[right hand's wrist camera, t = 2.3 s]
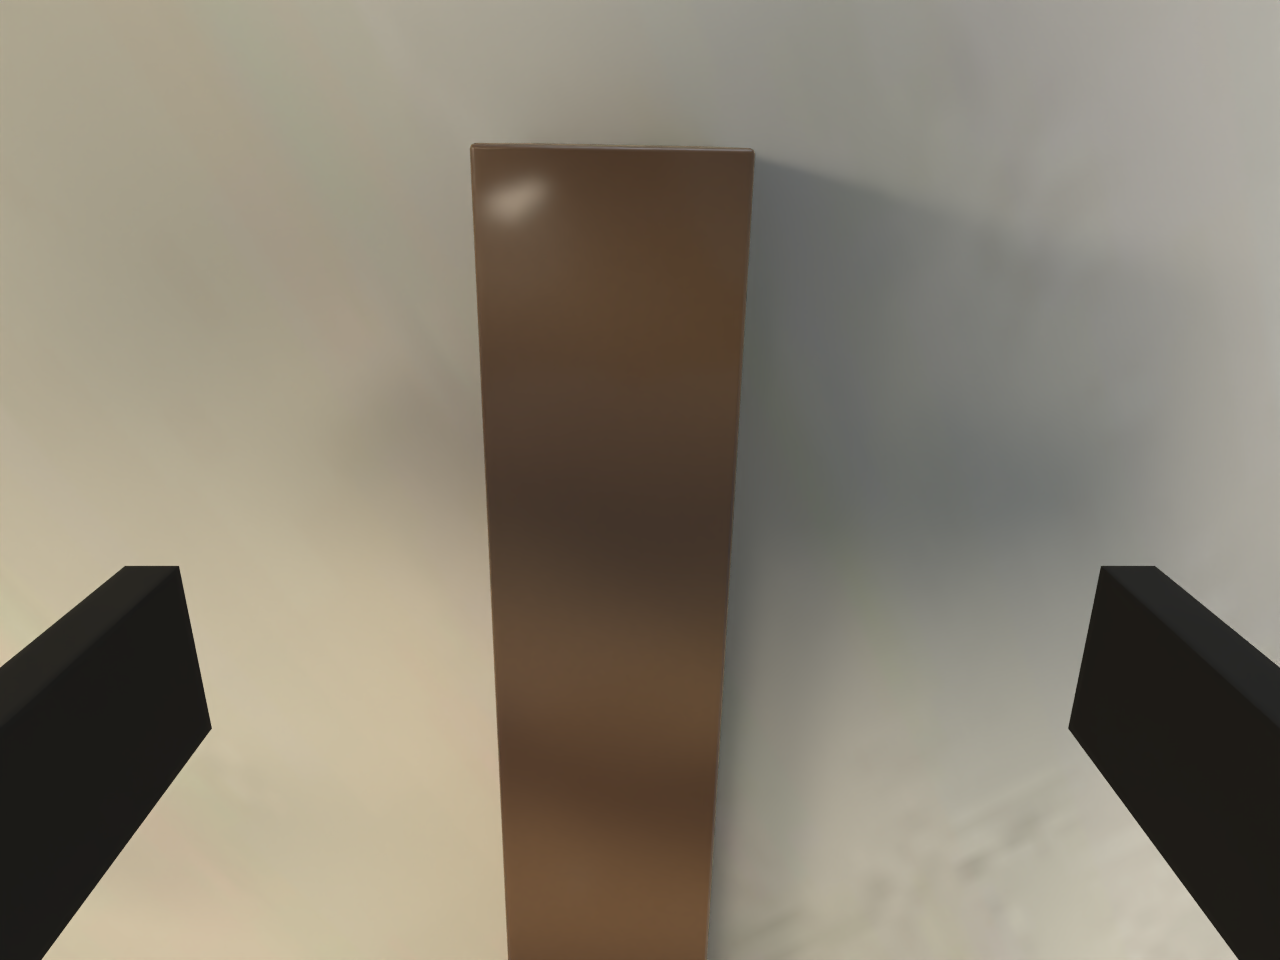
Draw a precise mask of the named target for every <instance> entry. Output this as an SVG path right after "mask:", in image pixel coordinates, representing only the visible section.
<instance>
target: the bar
mask: <svg viewBox="0 0 1280 960" xmlns="http://www.w3.org/2000/svg"><path fill="white" fill-rule="evenodd" d="M470 162H471V183H472V204H473V225H474V246H475V268H476V289H477V310H478V331H479V352H480V374H481V395H482V416H483V437H484V459H485V480H486V501H487V522H488V543H489V565H490V586H491V607H492V628H493V649H494V671H495V692H496V713H497V734H498V755H499V777H500V798H501V819H502V840H503V861H504V883H505V904H506V925H507V946H508V960H707V949H708V933H709V916H710V899H711V882H712V866H713V849H714V832H715V815H716V799H717V782H718V765H719V748H720V732H721V715H722V698H723V681H724V665H725V648H726V631H727V614H728V598H729V581H730V564H731V547H732V531H733V514H734V497H735V480H736V464H737V447H738V430H739V413H740V397H741V380H742V363H743V347H744V330H745V313H746V296H747V280H748V263H749V246H750V229H751V213H752V196H753V179H754V162H755V153H754V150H752V149H750V148H733V147H705V146H652V145H599V144H546V143H474V144H472V145H471V147H470Z"/></svg>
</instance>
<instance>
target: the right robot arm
mask: <svg viewBox="0 0 1280 960" xmlns="http://www.w3.org/2000/svg"><path fill="white" fill-rule="evenodd" d="M211 729H212V727H211V723H210V718H209V713H208V708H207V703H206V698H205V693H204V688H203V683H202V678H201V673H200V668H199V663H198V658H197V653H196V648H195V643H194V638H193V633H192V629H191V624H190V619H189V614H188V609H187V604H186V599H185V594H184V589H183V584H182V579H181V574H180V569H179V566H125V567H123V568H122V569H121V570H120V571H118V572H117V573H116V574H115V575H113V576H112V577H111V578H110V579H109V580H107V581H106V582H105V583H104V584H102V585H101V586H100V587H99V588H97V589H96V590H95V591H94V592H93V593H91V594H90V595H89V596H88V597H86V598H85V599H84V600H83V601H82V602H80V603H79V604H78V605H77V606H75V607H74V608H73V609H72V610H70V611H69V612H68V613H67V614H66V615H64V616H63V617H62V618H61V619H59V620H58V621H57V622H56V623H55V624H53V625H52V626H51V627H50V628H48V629H47V630H46V631H45V632H43V633H42V634H41V635H40V636H39V637H37V638H36V639H35V640H34V641H32V642H31V643H30V644H29V645H27V646H26V647H25V648H24V649H23V650H21V651H20V652H19V653H18V654H16V655H15V656H14V657H13V658H12V659H10V660H9V661H8V662H7V663H5V664H4V665H3V666H2V667H0V960H42V958H43V957H44V955H45V954H46V953H47V951H48V950H49V949H50V947H51V946H52V945H53V943H54V942H55V940H56V939H57V938H58V936H59V935H60V934H61V932H62V931H63V930H64V928H65V927H66V926H67V924H68V923H69V921H70V920H71V919H72V917H73V916H74V915H75V913H76V912H77V911H78V909H79V908H80V907H81V905H82V904H83V902H84V901H85V900H86V898H87V897H88V896H89V894H90V893H91V892H92V890H93V889H94V888H95V886H96V885H97V883H98V882H99V881H100V879H101V878H102V877H103V875H104V874H105V873H106V871H107V870H108V869H109V867H110V866H111V864H112V863H113V862H114V860H115V859H116V858H117V856H118V855H119V854H120V852H121V851H122V850H123V848H124V847H125V845H126V844H127V843H128V841H129V840H130V839H131V837H132V836H133V835H134V833H135V832H136V831H137V829H138V828H139V826H140V825H141V824H142V822H143V821H144V820H145V818H146V817H147V816H148V814H149V813H150V812H151V810H152V809H153V807H154V806H155V805H156V803H157V802H158V801H159V799H160V798H161V797H162V795H163V794H164V792H165V791H166V790H167V788H168V787H169V786H170V784H171V783H172V782H173V780H174V779H175V778H176V776H177V775H178V773H179V772H180V771H181V769H182V768H183V767H184V765H185V764H186V763H187V761H188V760H189V759H190V757H191V756H192V754H193V753H194V752H195V750H196V749H197V748H198V746H199V745H200V744H201V742H202V741H203V740H204V738H205V737H206V735H207V734H208V733H209V731H210V730H211ZM1068 729H1069V730H1070V731H1071V733H1072V734H1073V735H1074V737H1075V738H1076V740H1077V741H1078V742H1079V744H1080V745H1081V746H1082V748H1083V749H1084V750H1085V752H1086V753H1087V754H1088V756H1089V757H1090V759H1091V760H1092V761H1093V763H1094V764H1095V765H1096V767H1097V768H1098V769H1099V771H1100V772H1101V773H1102V775H1103V776H1104V778H1105V779H1106V780H1107V782H1108V783H1109V784H1110V786H1111V787H1112V788H1113V790H1114V791H1115V792H1116V794H1117V795H1118V797H1119V798H1120V799H1121V801H1122V802H1123V803H1124V805H1125V806H1126V807H1127V809H1128V810H1129V812H1130V813H1131V814H1132V816H1133V817H1134V818H1135V820H1136V821H1137V822H1138V824H1139V825H1140V826H1141V828H1142V829H1143V831H1144V832H1145V833H1146V835H1147V836H1148V837H1149V839H1150V840H1151V841H1152V843H1153V844H1154V845H1155V847H1156V848H1157V850H1158V851H1159V852H1160V854H1161V855H1162V856H1163V858H1164V859H1165V860H1166V862H1167V863H1168V864H1169V866H1170V867H1171V869H1172V870H1173V871H1174V873H1175V874H1176V875H1177V877H1178V878H1179V879H1180V881H1181V882H1182V883H1183V885H1184V886H1185V888H1186V889H1187V890H1188V892H1189V893H1190V894H1191V896H1192V897H1193V898H1194V900H1195V901H1196V902H1197V904H1198V905H1199V907H1200V908H1201V909H1202V911H1203V912H1204V913H1205V915H1206V916H1207V917H1208V919H1209V920H1210V921H1211V923H1212V924H1213V926H1214V927H1215V928H1216V930H1217V931H1218V932H1219V934H1220V935H1221V936H1222V938H1223V939H1224V940H1225V942H1226V943H1227V945H1228V946H1229V947H1230V949H1231V950H1232V951H1233V953H1234V954H1235V955H1236V957H1237V958H1238V960H1280V667H1278V666H1277V665H1276V664H1275V663H1273V662H1272V661H1271V660H1270V659H1268V658H1267V657H1266V656H1265V655H1264V654H1262V653H1261V652H1260V651H1259V650H1257V649H1256V648H1255V647H1254V646H1253V645H1251V644H1250V643H1249V642H1248V641H1246V640H1245V639H1244V638H1243V637H1241V636H1240V635H1239V634H1238V633H1237V632H1235V631H1234V630H1233V629H1232V628H1230V627H1229V626H1228V625H1227V624H1225V623H1224V622H1223V621H1222V620H1221V619H1219V618H1218V617H1217V616H1216V615H1214V614H1213V613H1212V612H1211V611H1210V610H1208V609H1207V608H1206V607H1205V606H1203V605H1202V604H1201V603H1200V602H1198V601H1197V600H1196V599H1195V598H1194V597H1192V596H1191V595H1190V594H1189V593H1187V592H1186V591H1185V590H1184V589H1183V588H1181V587H1180V586H1179V585H1178V584H1176V583H1175V582H1174V581H1173V580H1171V579H1170V578H1169V577H1168V576H1167V575H1165V574H1164V573H1163V572H1162V571H1160V570H1159V569H1158V568H1157V567H1155V566H1101V569H1100V574H1099V579H1098V584H1097V589H1096V594H1095V599H1094V604H1093V609H1092V614H1091V619H1090V624H1089V629H1088V633H1087V638H1086V643H1085V648H1084V653H1083V658H1082V663H1081V668H1080V673H1079V678H1078V683H1077V688H1076V693H1075V698H1074V703H1073V708H1072V713H1071V718H1070V723H1069V727H1068Z"/></svg>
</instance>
